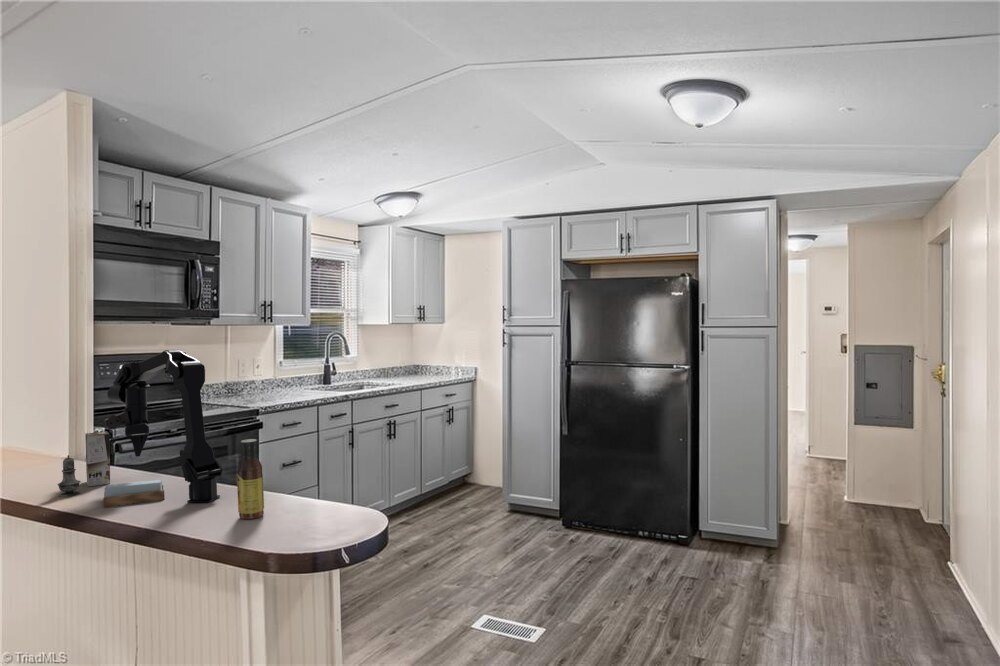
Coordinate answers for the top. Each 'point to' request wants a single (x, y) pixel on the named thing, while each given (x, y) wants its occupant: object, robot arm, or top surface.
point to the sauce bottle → (250, 482)
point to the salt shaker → (68, 479)
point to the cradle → (133, 498)
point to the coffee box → (97, 458)
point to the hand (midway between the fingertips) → (137, 453)
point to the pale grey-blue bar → (132, 488)
